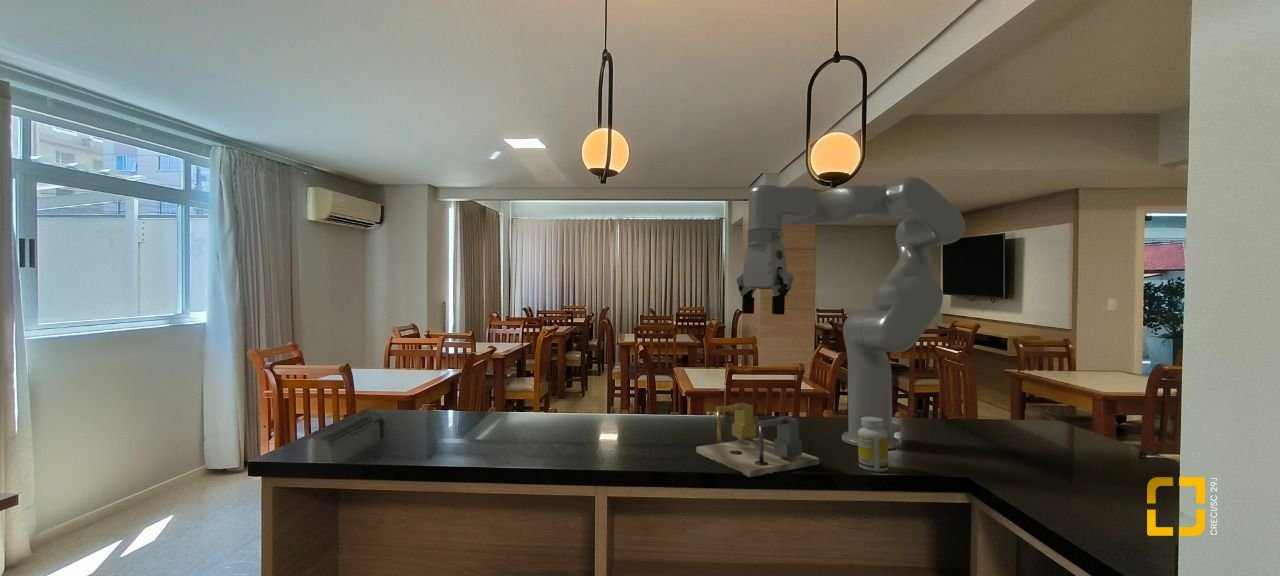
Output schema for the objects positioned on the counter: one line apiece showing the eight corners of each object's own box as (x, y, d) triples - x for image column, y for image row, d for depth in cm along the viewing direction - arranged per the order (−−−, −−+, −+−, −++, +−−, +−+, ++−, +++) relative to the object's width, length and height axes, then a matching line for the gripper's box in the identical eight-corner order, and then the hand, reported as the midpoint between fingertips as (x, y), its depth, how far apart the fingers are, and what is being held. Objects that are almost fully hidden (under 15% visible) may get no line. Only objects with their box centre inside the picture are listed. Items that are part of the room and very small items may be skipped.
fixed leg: (789, 454, 102) (788, 415, 102) (801, 458, 98) (801, 418, 99) (753, 460, 97) (753, 419, 98) (766, 465, 94) (765, 423, 95)
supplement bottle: (885, 465, 99) (884, 416, 100) (891, 473, 94) (890, 422, 95) (856, 462, 101) (855, 415, 101) (860, 471, 96) (860, 420, 96)
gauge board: (759, 442, 116) (759, 433, 116) (819, 464, 100) (818, 453, 100) (696, 452, 107) (696, 442, 108) (749, 477, 91) (749, 465, 92)
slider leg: (745, 436, 114) (745, 402, 114) (755, 439, 111) (755, 405, 111) (712, 440, 110) (712, 405, 110) (722, 444, 107) (722, 408, 107)
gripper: (805, 237, 107) (803, 315, 106) (751, 245, 122) (749, 313, 121) (780, 233, 103) (778, 314, 102) (727, 242, 118) (725, 312, 117)
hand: (762, 313), depth 111 cm, fingers open, 9 cm apart
